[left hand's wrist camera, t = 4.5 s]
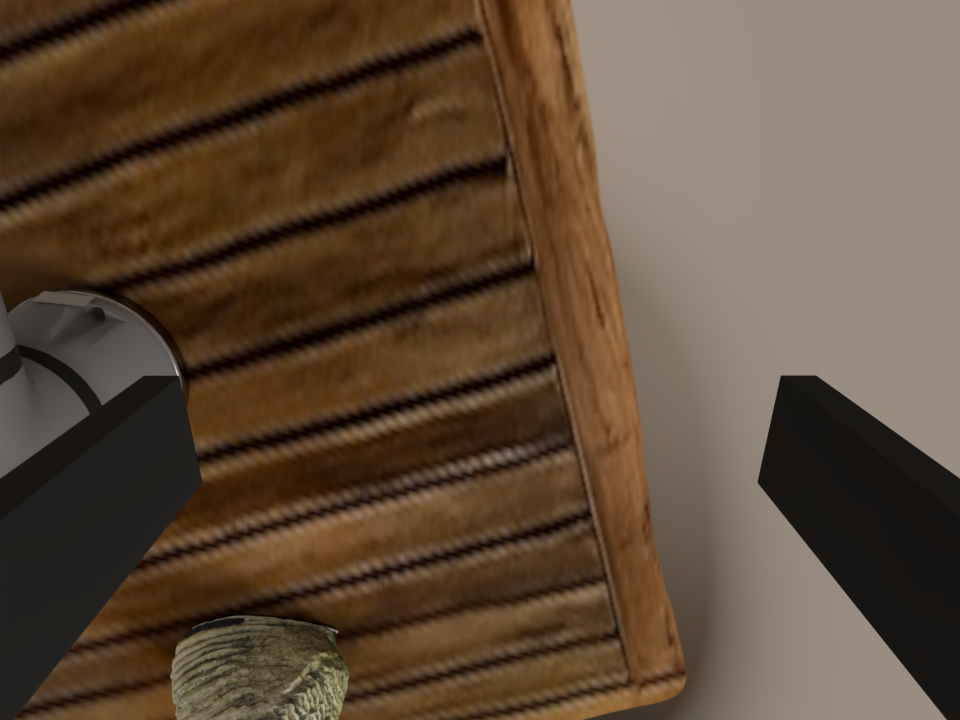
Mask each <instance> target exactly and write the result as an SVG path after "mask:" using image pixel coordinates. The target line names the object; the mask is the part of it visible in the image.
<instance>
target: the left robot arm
mask: <svg viewBox="0 0 960 720" xmlns="http://www.w3.org/2000/svg"><path fill="white" fill-rule="evenodd" d="M188 397H189V378H188V372H187V368H186V364H185V361H184V359H183V356H182V354H181V352H180V350H179V348H178V346H177V344H176V343H175V341H174V340H173V338H172V337H171V336H170V334H169V333H168V332H167V331H166V329H165V328H164V327H163V326H162V325H161V324H160V323H159V322H158V321H157V320H156V319H155V318H154V317H153V316H152V315H150V314H149V313H148V312H146V311H145V310H144V309H142V308H141V307H139V306H138V305H136V304H135V303H133V302H131V301H129V300H127V299H125V298H123V297H121V296H119V295H116V294H113V293H110V292H107V291H104V290H100V289H94V288H88V287H66V288H60V289H55V290H52V291H49V292H48V291H43V292H42V293H41V294H40V295H38V296H35V297H32V298H30V299H28V300H26V301H24V302H23V303H21V304H20V305H18V306H17V307H16V308H14V309H13V310H12V311H10V312H9V313H8V314H7V311H6V307H5V304H4V301H3V298H2V295H1V292H0V720H13V719H14V718H15V717H16V716H17V714H18V713H19V712H20V711H21V709H22V708H23V707H24V706H25V704H26V703H27V702H28V701H29V699H30V698H31V697H32V696H33V694H34V693H35V692H36V691H37V689H38V688H39V687H40V685H41V684H42V683H43V682H44V680H45V679H46V678H47V677H48V675H49V674H50V673H51V672H52V670H53V669H54V668H55V667H56V665H57V664H58V663H59V662H60V660H61V659H62V658H63V657H64V655H65V654H66V653H67V652H68V650H69V649H70V648H71V647H72V645H73V644H74V643H75V642H76V640H77V639H78V638H79V637H80V635H81V634H82V633H83V632H84V630H85V629H86V628H87V627H88V625H89V624H90V623H91V622H92V620H93V619H94V618H95V617H96V615H97V614H98V613H99V612H100V610H101V609H102V608H103V607H104V605H105V604H106V603H107V602H108V600H109V599H110V598H111V597H112V595H113V594H114V593H115V592H116V590H117V589H118V588H119V587H120V585H121V584H122V583H123V581H124V580H125V579H126V578H127V576H128V575H129V574H130V573H131V571H132V570H133V569H134V568H135V566H136V565H137V564H138V563H139V561H140V560H141V559H142V558H143V556H144V555H145V554H146V553H147V551H148V550H149V549H150V548H151V546H152V545H153V544H154V543H155V541H156V540H157V539H158V538H159V536H160V535H161V534H162V533H163V531H164V530H165V529H166V528H167V526H168V525H169V524H170V523H171V521H172V520H173V519H174V518H175V516H176V515H177V514H178V513H179V511H180V510H181V509H182V508H183V506H184V505H185V504H186V503H187V501H188V500H189V499H190V498H191V496H192V495H193V494H194V493H195V491H196V490H197V489H198V488H199V486H200V485H201V484H202V478H201V473H200V469H199V464H198V460H197V455H196V451H195V446H194V441H193V437H192V432H191V428H190V423H189V419H188V414H187V410H186V406H187V402H188ZM758 484H759V485H760V486H761V488H762V489H763V490H764V491H765V493H766V494H767V495H768V496H769V498H770V499H771V500H772V501H773V503H774V504H775V505H776V506H777V508H778V509H779V510H780V511H781V513H782V514H783V515H784V516H785V518H786V519H787V520H788V521H789V523H790V524H791V525H792V526H793V528H794V529H795V530H796V531H797V533H798V534H799V535H800V536H801V538H802V539H803V540H804V541H805V543H806V544H807V545H808V546H809V548H810V549H811V550H812V551H813V553H814V554H815V555H816V556H817V558H818V559H819V560H820V561H821V563H822V564H823V565H824V566H825V568H826V569H827V570H828V571H829V573H830V574H831V575H832V576H833V578H834V579H835V580H836V581H837V583H838V584H839V585H840V586H841V588H842V589H843V590H844V592H845V593H846V594H847V595H848V597H849V598H850V599H851V600H852V602H853V603H854V604H855V605H856V607H857V608H858V609H859V610H860V611H861V613H862V614H863V615H864V617H865V618H866V619H867V620H868V621H869V623H870V624H871V625H872V627H873V628H874V629H875V630H876V631H877V633H878V634H879V635H880V637H881V638H882V639H883V640H884V642H885V643H886V644H887V645H888V647H889V648H890V649H891V650H892V652H893V653H894V654H895V655H896V657H897V658H898V659H899V660H900V662H901V663H902V664H903V665H904V667H905V668H906V669H907V670H908V672H909V673H910V674H911V675H912V677H913V678H914V679H915V680H916V682H917V683H918V684H919V685H920V687H921V688H922V689H923V691H924V692H925V693H926V694H927V695H928V697H929V698H930V699H931V700H932V702H933V703H934V704H935V706H936V707H937V708H938V709H939V710H940V712H941V713H942V714H943V716H944V717H945V718H946V719H947V720H960V478H958V477H957V476H955V475H954V474H953V473H951V472H950V471H949V470H947V469H946V468H944V467H943V466H942V465H940V464H939V463H937V462H936V461H935V460H933V459H932V458H930V457H929V456H928V455H926V454H925V453H923V452H922V451H921V450H919V449H918V448H916V447H915V446H914V445H912V444H911V443H909V442H908V441H907V440H905V439H904V438H902V437H901V436H900V435H898V434H897V433H895V432H894V431H893V430H891V429H890V428H889V427H887V426H886V425H884V424H883V423H882V422H880V421H879V420H877V419H876V418H875V417H873V416H872V415H870V414H869V413H868V412H866V411H865V410H863V409H862V408H861V407H859V406H858V405H856V404H855V403H854V402H852V401H851V400H849V399H848V398H847V397H845V396H844V395H842V394H841V393H840V392H838V391H837V390H835V389H834V388H833V387H831V386H830V385H828V384H827V383H826V382H824V381H823V380H822V379H820V378H819V377H817V376H781V378H780V382H779V387H778V391H777V396H776V400H775V405H774V410H773V414H772V419H771V423H770V428H769V432H768V437H767V442H766V446H765V451H764V455H763V460H762V464H761V469H760V473H759V478H758Z"/></svg>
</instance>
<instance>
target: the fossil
mask: <svg viewBox="0 0 960 720" xmlns="http://www.w3.org/2000/svg"><path fill="white" fill-rule="evenodd" d="M337 633H338V631H337V630H334V629H332V628H329V627H327V626H323V625H316V624H312V623H307V622H301V621H295V620H291V619H287V620H283V619H278V618H274V617H262V616H230V617H226V618H221V619H216V620H214V621H211V622H204V623H202V624H199V625H197V626H195V627H193V628H192V631H191V632H190V633H189V634H188V635H187V636H186V637H185V638H184V639H182V640H181V641H180V642H178V644H177V647H176V651H175V658H174V659H173V663H172V673H171V676H170V677H171V679H172V696H173V700H172V701H173V702H174V704H175V705H176V706H177V707H176V713H175V715H176V716H177V720H338V718H339V714H340V712H341V709H342V706H343V701H344V697H345V694H346V690H347V686H348V678H349V671H348V668H347V665H346V664H345V662H344V661H343V659H342V657H341V656H340V653H339V651H338V650H337V649H336V646H337V641H336V637H337Z"/></svg>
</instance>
